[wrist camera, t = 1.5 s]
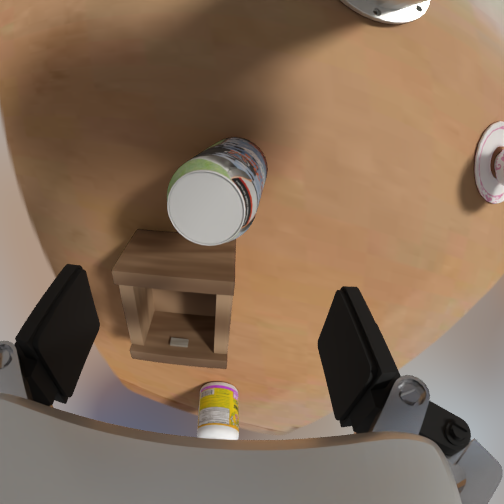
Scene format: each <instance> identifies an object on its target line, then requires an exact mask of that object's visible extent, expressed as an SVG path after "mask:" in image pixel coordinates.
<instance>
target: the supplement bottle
mask: <svg viewBox="0 0 504 504" xmlns="http://www.w3.org/2000/svg"><path fill="white" fill-rule="evenodd" d="M197 427H198V428H197V437H198V438H209V439H225V440H238V437H239V418H238V391H237V389H236V388H235V387H234V386H233V385H231V384H229V383H225V382H210V383H207V384H205V385H204V386H203V387H202V388H201V390H200V400H199V413H198V426H197Z"/></svg>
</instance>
